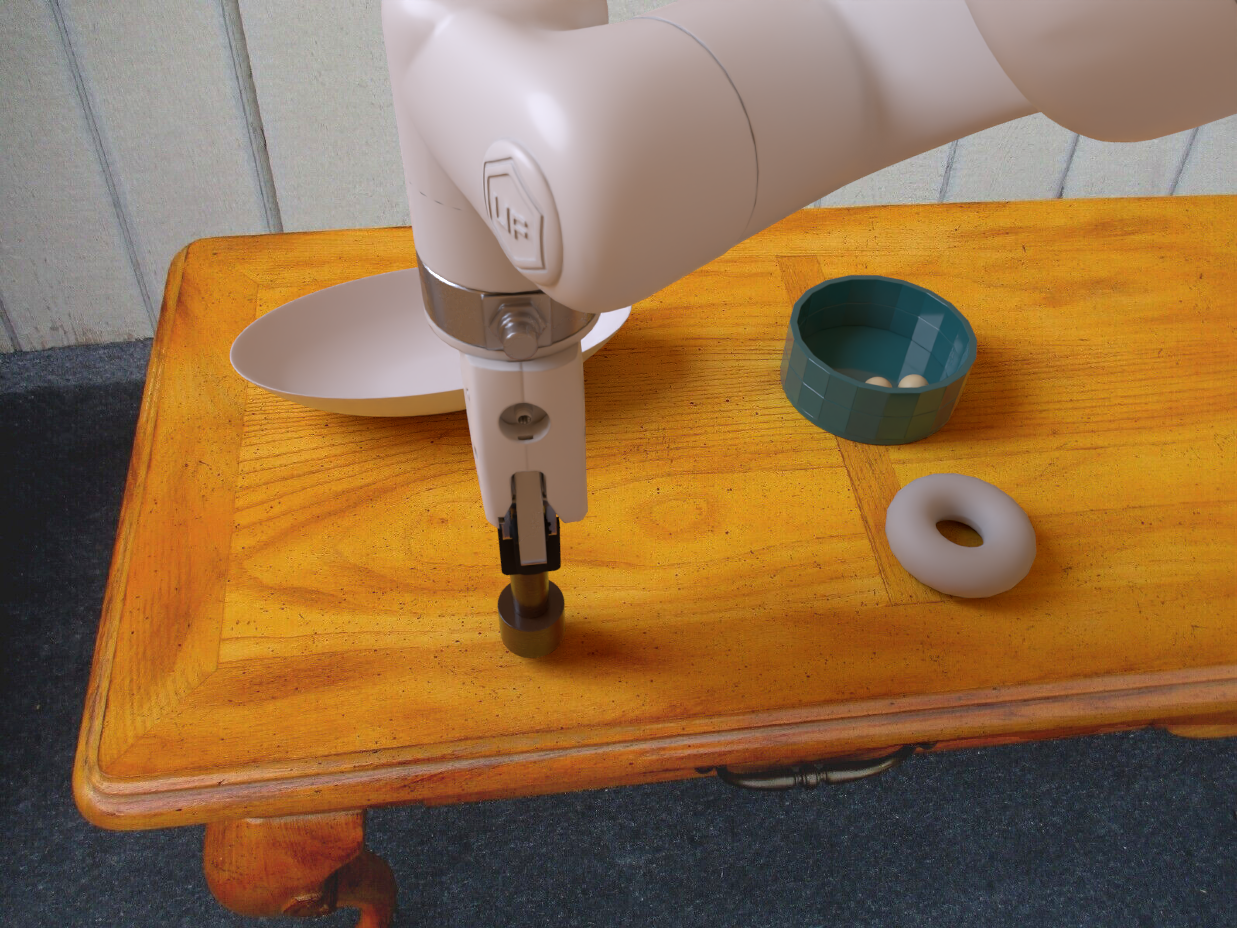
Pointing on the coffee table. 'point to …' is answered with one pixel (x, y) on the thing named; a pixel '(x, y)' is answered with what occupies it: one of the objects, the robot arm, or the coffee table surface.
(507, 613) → the muddler
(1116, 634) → the coffee table surface
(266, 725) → the coffee table surface
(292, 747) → the coffee table surface
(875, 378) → the chickpea
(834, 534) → the coffee table surface
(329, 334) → the bowl
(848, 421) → the mixing bowl
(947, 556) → the donut
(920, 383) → the chickpea
